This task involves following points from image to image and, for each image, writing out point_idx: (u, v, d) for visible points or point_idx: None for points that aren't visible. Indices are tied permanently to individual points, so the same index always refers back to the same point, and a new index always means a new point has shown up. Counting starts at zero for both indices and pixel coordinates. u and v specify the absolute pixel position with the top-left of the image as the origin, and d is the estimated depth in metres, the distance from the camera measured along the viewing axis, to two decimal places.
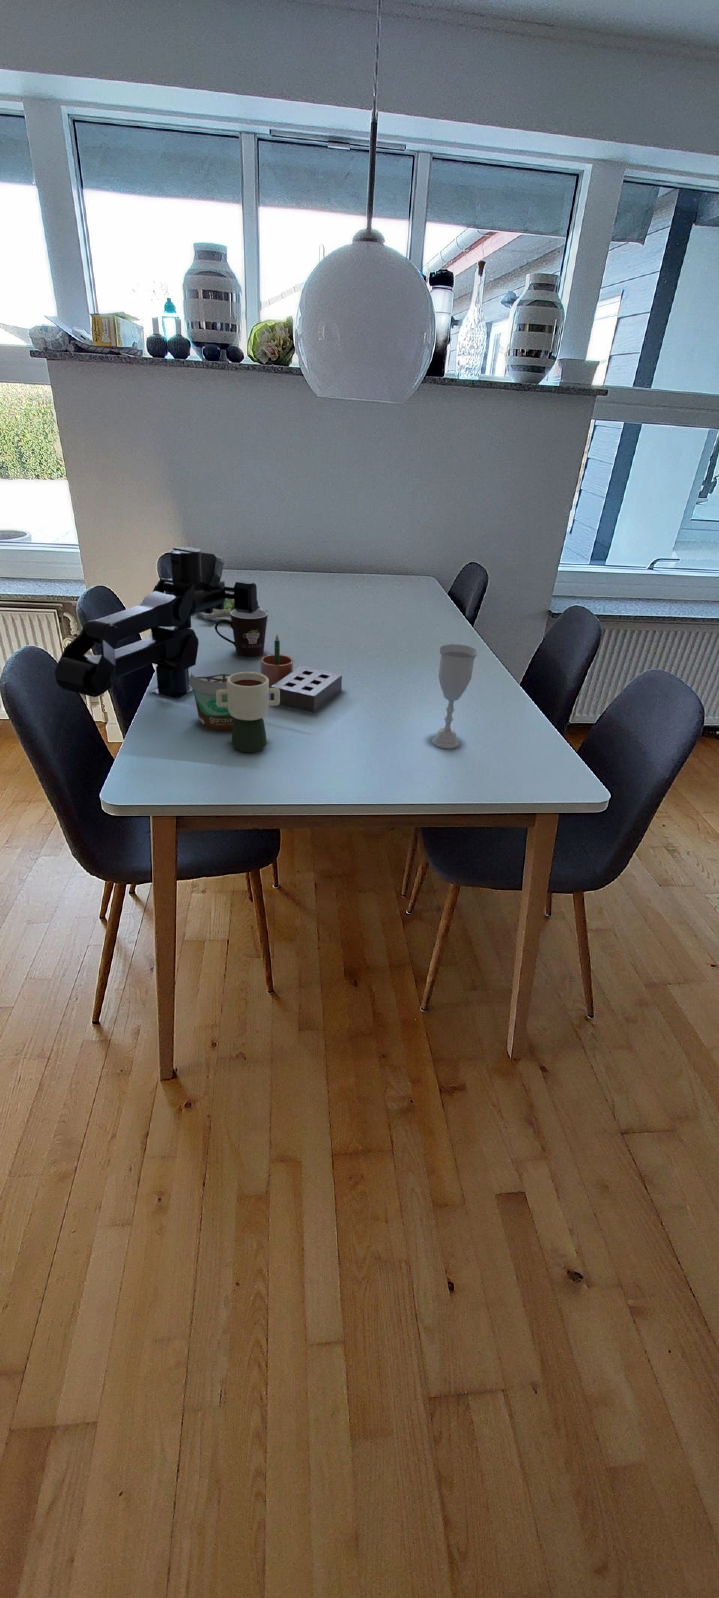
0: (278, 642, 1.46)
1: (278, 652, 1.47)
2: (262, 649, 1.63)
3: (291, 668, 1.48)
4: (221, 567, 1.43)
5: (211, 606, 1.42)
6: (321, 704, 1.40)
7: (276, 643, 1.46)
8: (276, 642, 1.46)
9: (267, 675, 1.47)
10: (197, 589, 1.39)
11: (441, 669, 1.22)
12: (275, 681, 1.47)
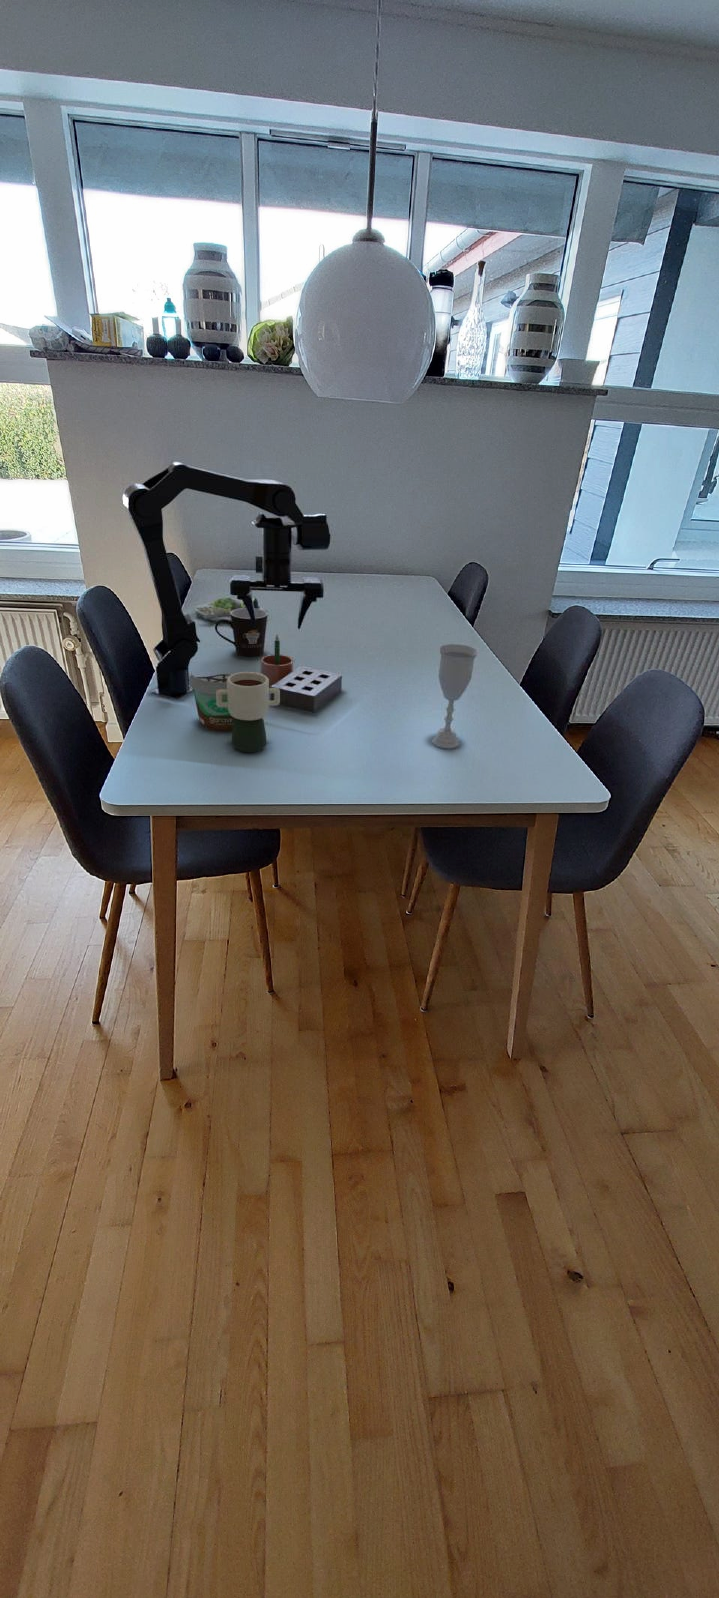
0: (278, 642, 1.46)
1: (278, 652, 1.47)
2: (262, 649, 1.63)
3: (291, 668, 1.48)
4: None
5: (289, 560, 1.36)
6: (321, 704, 1.40)
7: (276, 643, 1.46)
8: (276, 642, 1.46)
9: (267, 675, 1.47)
10: (291, 543, 1.35)
11: (441, 669, 1.22)
12: (275, 681, 1.47)
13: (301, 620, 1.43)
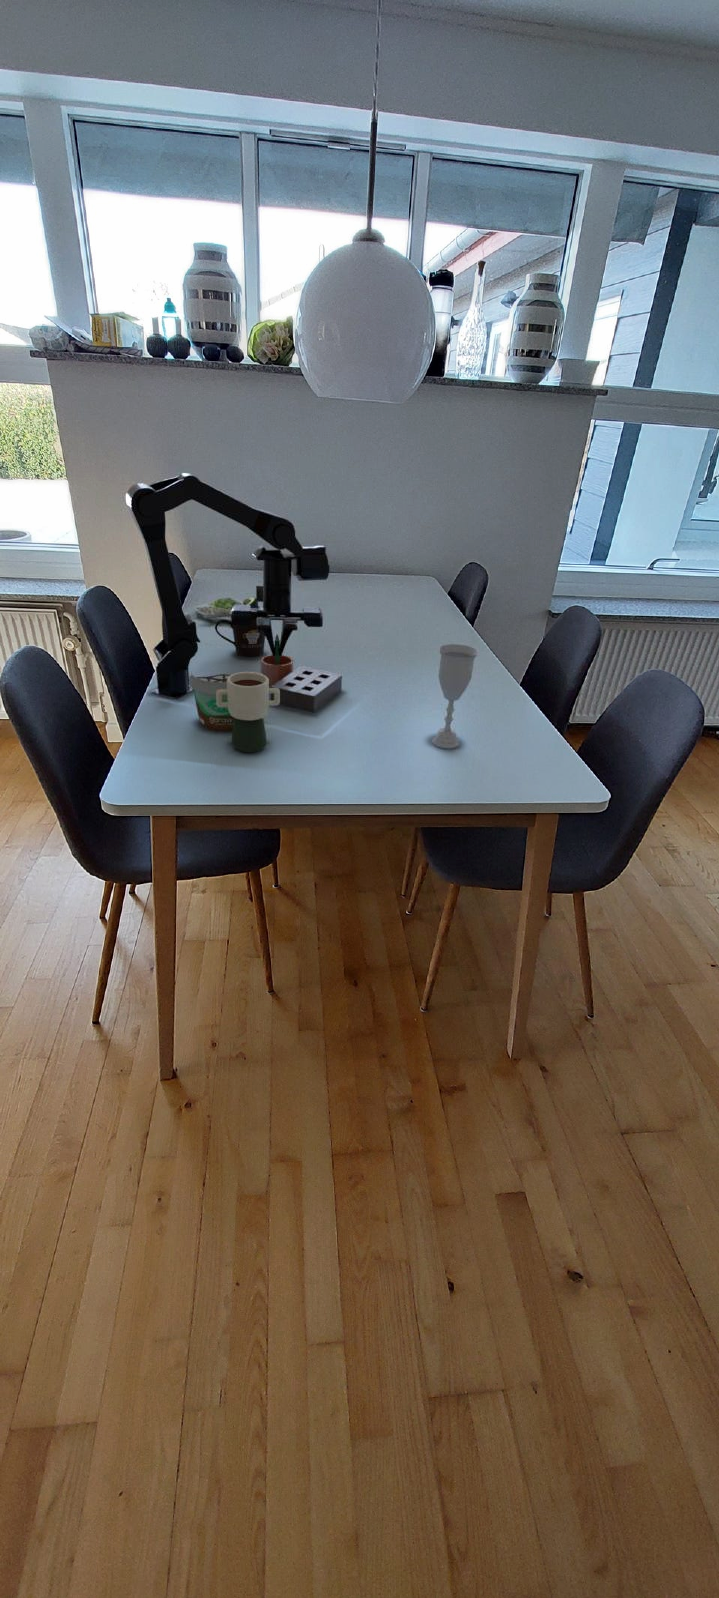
0: (278, 642, 1.46)
1: (278, 652, 1.47)
2: (262, 649, 1.63)
3: (291, 668, 1.48)
4: None
5: (289, 590, 1.39)
6: (321, 704, 1.40)
7: (276, 643, 1.46)
8: (276, 642, 1.46)
9: (267, 675, 1.47)
10: (290, 574, 1.39)
11: (441, 669, 1.22)
12: (275, 681, 1.47)
13: (282, 648, 1.46)
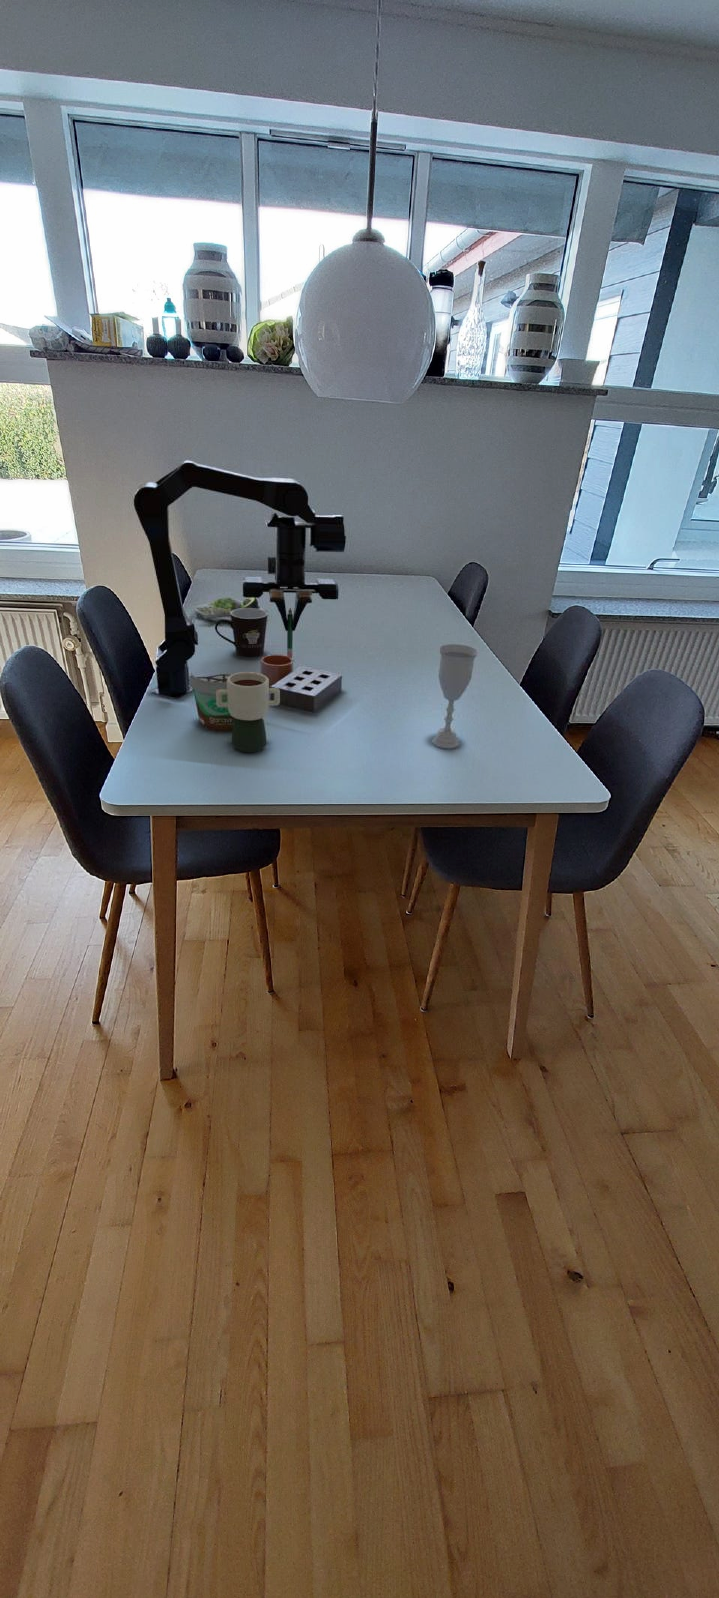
0: (291, 616, 1.39)
1: (291, 627, 1.40)
2: (262, 649, 1.63)
3: (291, 668, 1.48)
4: None
5: (304, 560, 1.33)
6: (321, 704, 1.40)
7: (289, 617, 1.39)
8: (289, 616, 1.39)
9: (267, 675, 1.47)
10: (304, 544, 1.31)
11: (441, 669, 1.22)
12: (275, 681, 1.47)
13: (296, 622, 1.39)
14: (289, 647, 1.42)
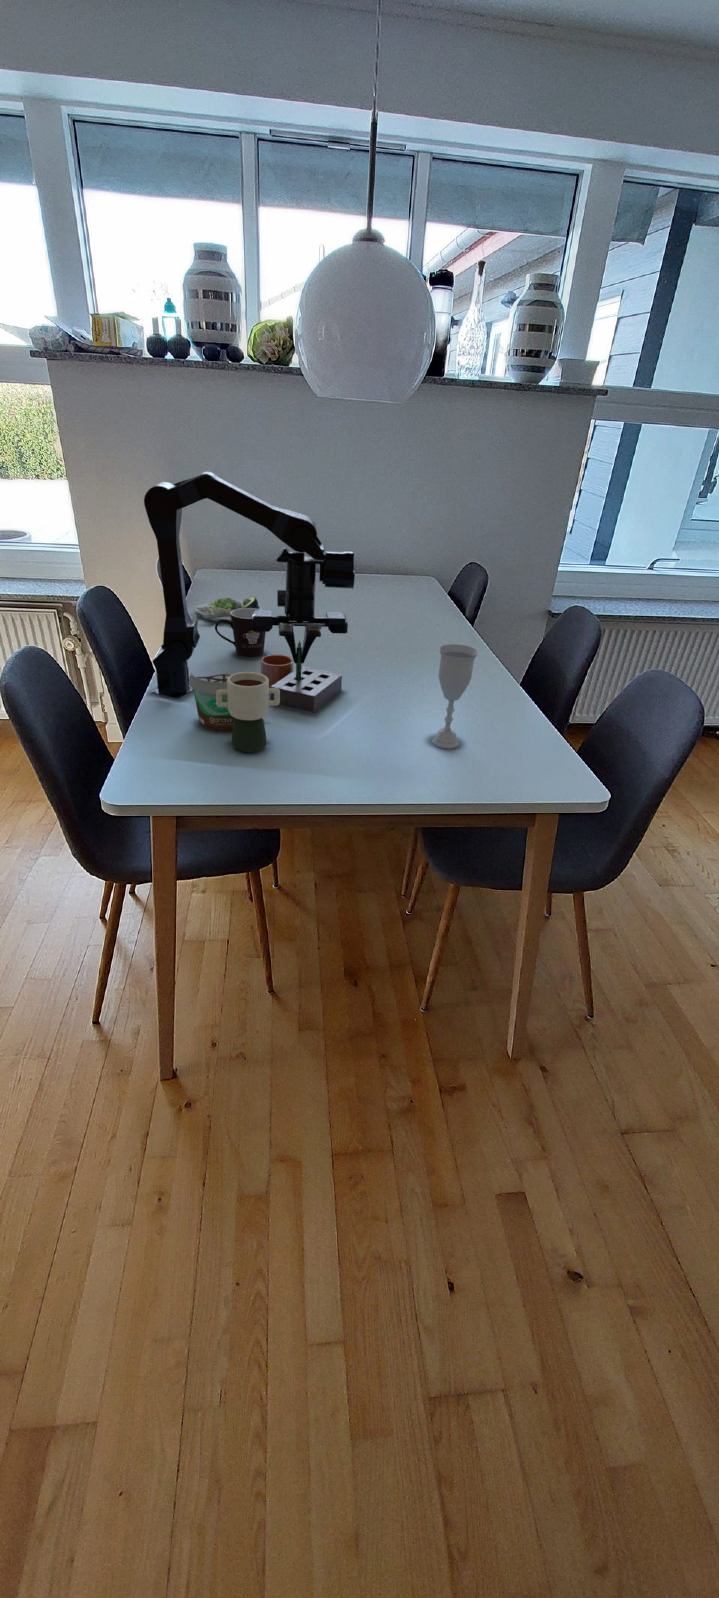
0: (300, 649, 1.39)
1: (300, 659, 1.40)
2: (262, 649, 1.63)
3: (291, 668, 1.48)
4: None
5: (313, 595, 1.33)
6: (321, 704, 1.40)
7: (298, 650, 1.39)
8: (298, 649, 1.39)
9: (267, 675, 1.47)
10: (313, 579, 1.31)
11: (441, 669, 1.22)
12: (275, 681, 1.47)
13: (305, 655, 1.39)
14: (298, 679, 1.42)
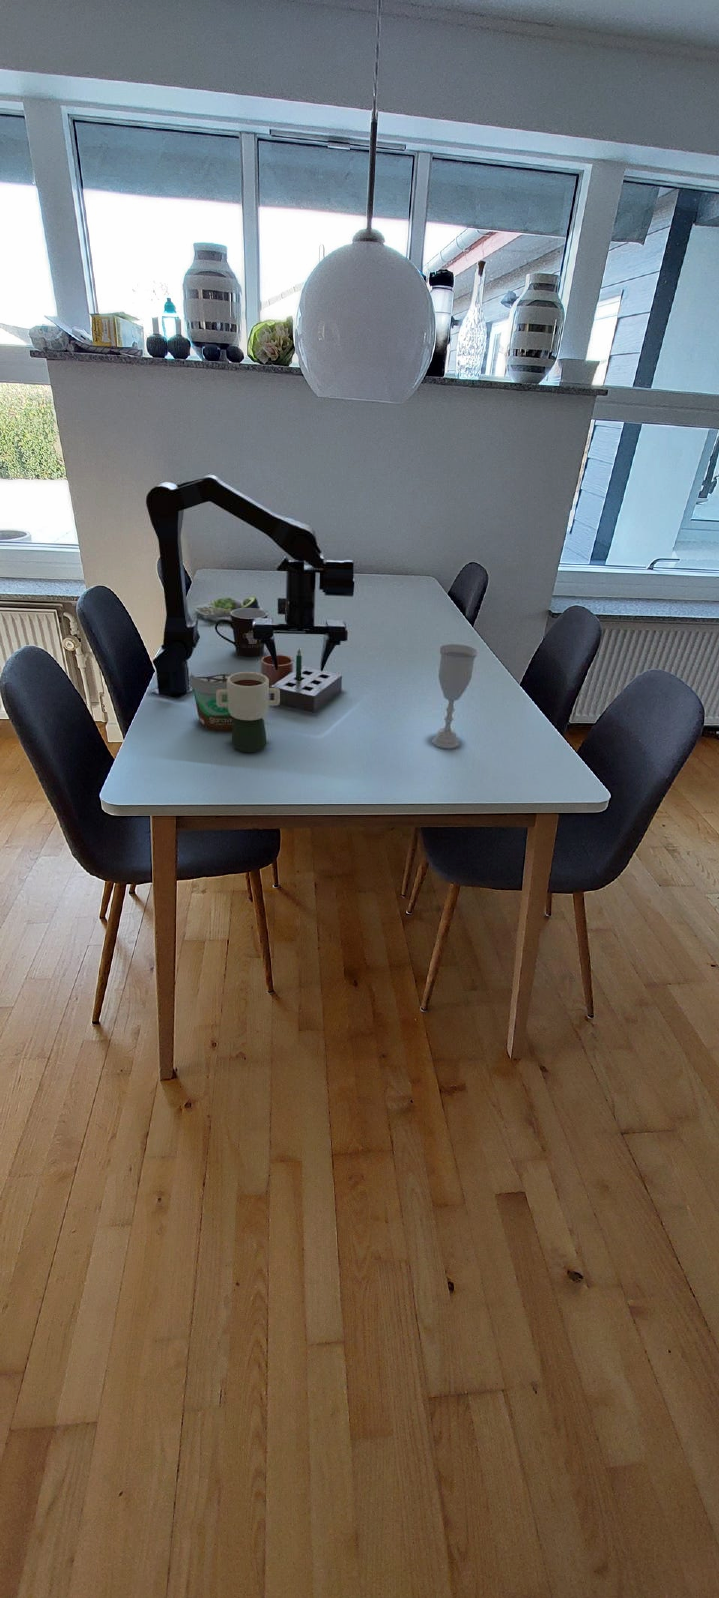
0: (300, 657, 1.40)
1: (300, 667, 1.41)
2: (262, 649, 1.63)
3: (291, 668, 1.48)
4: None
5: (313, 603, 1.34)
6: (321, 704, 1.40)
7: (298, 658, 1.40)
8: (298, 657, 1.40)
9: (267, 675, 1.47)
10: (313, 588, 1.32)
11: (441, 669, 1.22)
12: (275, 681, 1.47)
13: (324, 663, 1.40)
14: None
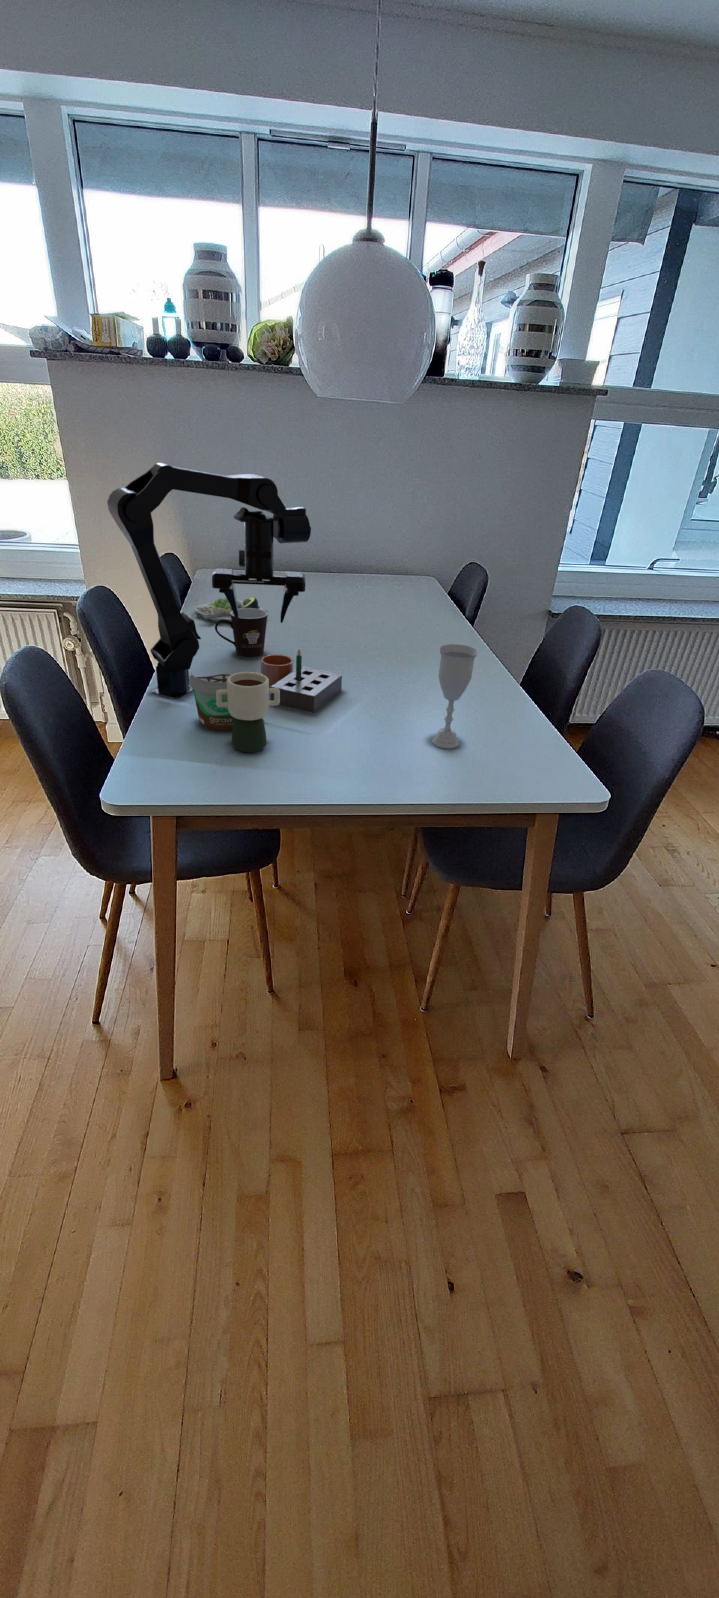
0: (300, 657, 1.40)
1: (300, 667, 1.41)
2: (262, 649, 1.63)
3: (291, 668, 1.48)
4: None
5: (271, 553, 1.37)
6: (321, 704, 1.40)
7: (298, 658, 1.40)
8: (298, 657, 1.40)
9: (267, 675, 1.47)
10: (273, 536, 1.37)
11: (441, 669, 1.22)
12: (275, 681, 1.47)
13: (283, 614, 1.44)
14: None
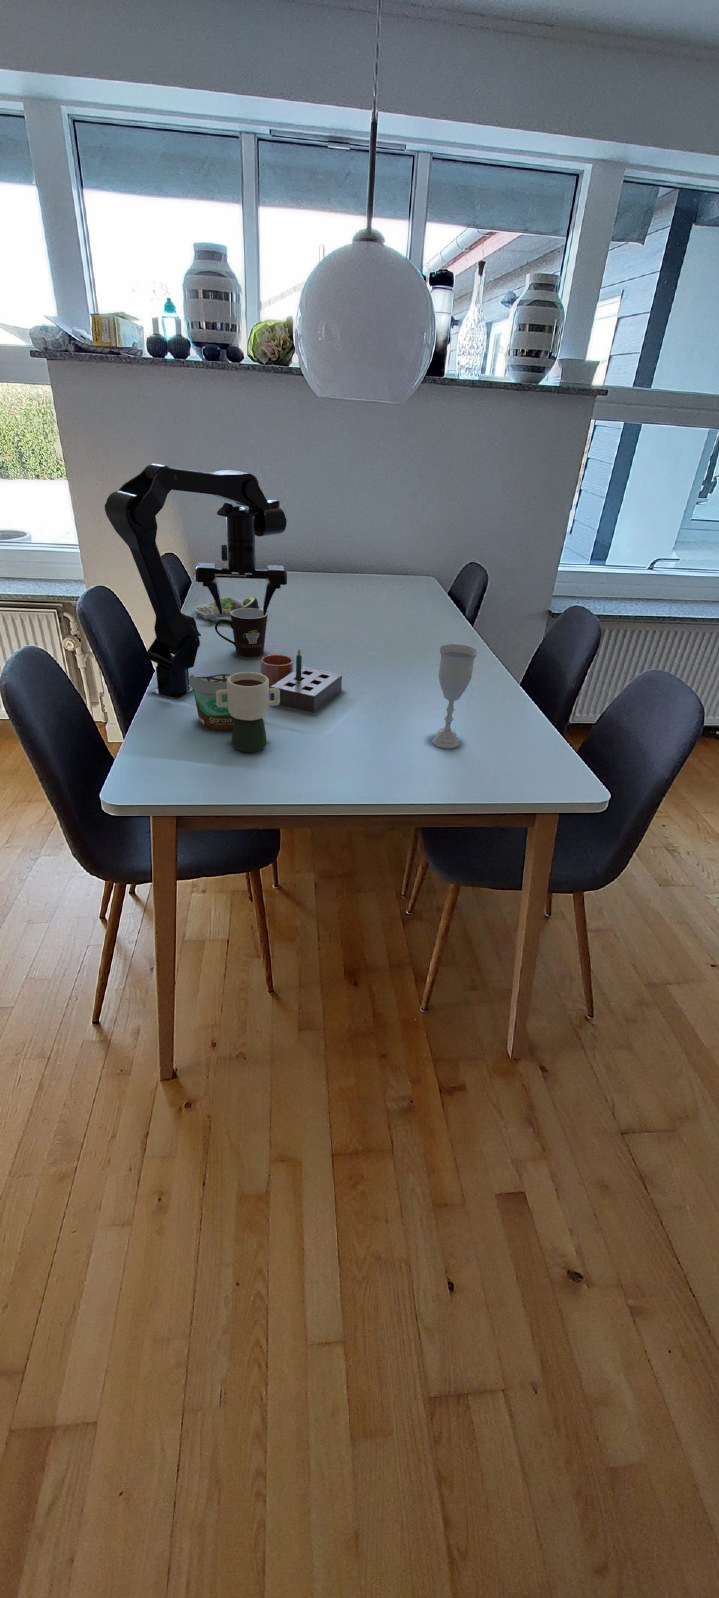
0: (300, 657, 1.40)
1: (300, 667, 1.41)
2: (262, 649, 1.63)
3: (291, 668, 1.48)
4: None
5: (253, 547, 1.40)
6: (321, 704, 1.40)
7: (298, 658, 1.40)
8: (298, 657, 1.40)
9: (267, 675, 1.47)
10: None
11: (441, 669, 1.22)
12: (275, 681, 1.47)
13: (266, 607, 1.47)
14: None
